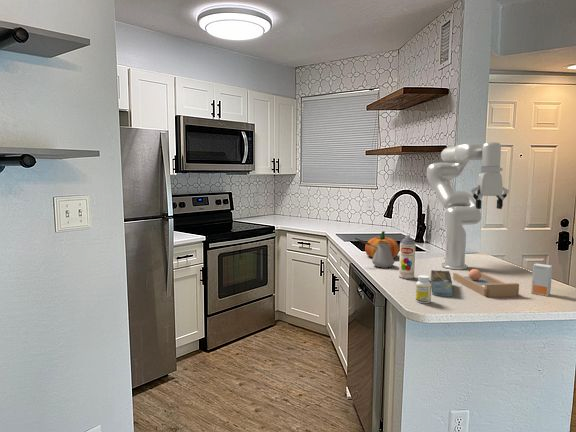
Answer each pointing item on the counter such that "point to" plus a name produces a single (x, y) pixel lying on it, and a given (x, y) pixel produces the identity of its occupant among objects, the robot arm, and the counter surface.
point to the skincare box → (541, 279)
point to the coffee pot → (381, 254)
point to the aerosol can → (407, 258)
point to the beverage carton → (441, 283)
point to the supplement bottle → (423, 289)
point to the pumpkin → (371, 250)
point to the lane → (489, 286)
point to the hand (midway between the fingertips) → (488, 208)
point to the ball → (475, 274)
